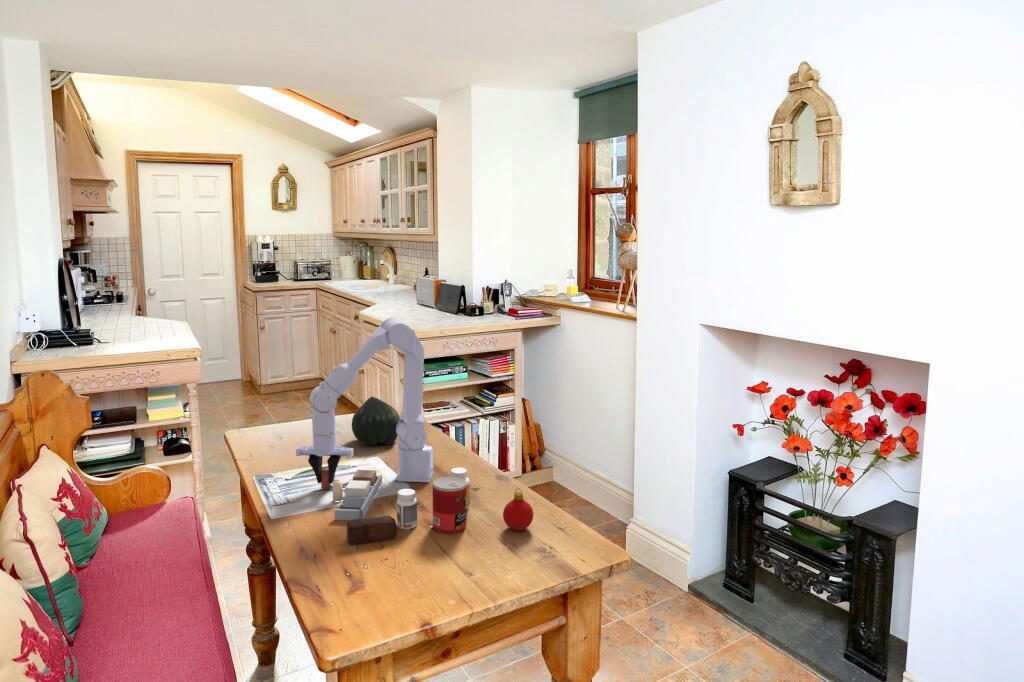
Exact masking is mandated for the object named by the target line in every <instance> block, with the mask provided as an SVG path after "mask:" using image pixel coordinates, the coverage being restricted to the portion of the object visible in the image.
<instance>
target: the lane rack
mask: <svg viewBox="0 0 1024 682" xmlns="http://www.w3.org/2000/svg"><path fill="white" fill-rule="evenodd" d="M381 484H382V485H383V475H376V482H375V484H374V486H370V493H369V494H368V496H367V497H346V496H343V498H342V499H343V501H342V508H334V520H335V521H349V520H354V519H364V518H365V517H366V514H367V513H368V511H369V509H370V507H371V506H372V504H373V502H374V500H375V498H376V497H375V495H376V493H377V491H378V489H379V487H380V486H381ZM381 487H382V486H381ZM381 487H380V488H381ZM379 490H380V489H379ZM378 492H379V491H378ZM377 494H378V493H377ZM376 496H377V495H376ZM374 497H375V498H374ZM373 499H374V500H373ZM352 508H353V509H352ZM354 508H358V509H354Z"/></svg>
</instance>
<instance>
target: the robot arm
mask: <svg viewBox="0 0 1024 682" xmlns="http://www.w3.org/2000/svg"><path fill="white" fill-rule="evenodd" d="M390 345H392V346H393V347H395V348H398V350H400V351H401V352H402V353H403V354H404V363H403V364H404V365H403V367H404V368H403V387H402V388H403V392H402V395H403V396H402V411H401V412H400V414H399V416H400V420H399V423H398V425H397V427H396V433H397V435H398V436H397V438H399V442H398V444H397V446H398V447H397V451H398V452H397V453H398V454H397V455H398V456H397V457H398V463H397V464H398V472H397V475H396V477H395V478H394V481H395V480H398V481H397V482H404V483H405V482H407V483H408V482H409V483H410V482H413V483H414V482H415V483H430V482H431V479H432V478H433V477H432V476H433V474H434V448H433V446H431V445H430V446H429V445H426V443H427V440H428V434H427V431H426V429H425V420H424V417H423V413H422V410H423V409H422V407H423V387H424V386H423V385H424V364H425V363H424V361H425V348H424V346H423V344H422V342H421V341H420V338H418V336H417V334H416V332H415V330H414V329H413V328H412V327H411V326H409V325H408V324H406V323H404V322H402V321H400V320H399V319H398V318H393V317H389V318H386V319H385V320H384V321H383V322H382V323H381V325H379V326H377V327H376V328H375V329H374V331H373V332H372V334H371V335H369V337H368V338H367V339H366V340H365V342H364V343H363V344H362V345H361V346H360V347H359V349H358V350H357V351H356V352H355V354H353V356H352V357H351V358H350V359H349V361H348V362H347V363H340V364H338V365H337V366H336V365H334V366H333V368H332V369H331V370H332V372H331V373H330V374H329V375H328V376H327V377H326V378H325V379H324V380H323V381H322V380H321V381H320V382H319V383H318V384H319V385H318V386H315V387H314V388H313V389H312V390H311V392H310V396H308V399H309V401H310V403H311V404H312V407H311V408H312V409H311V413H312V415H311V424H312V426H311V427H312V445H308V446H297V447H296V448H295V455H296V457H301V456H309V458H307V459H308V460H307V461H308V464H309V465H310V467H311V468H312V470H313V473H314V475H315V478H316V481H317V482H316V483H317V484H321V469H323V457H328V459H326V461H327V462H326V463H327V468H329V484H331V485H333V484H332V482H333V481H335V476H336V475H335V474H336V471H337V467H338V465H339V463H340V460H341V458H342V457H347V458H348V459H349V458H350V459H351V458H353V456H354V448H353V447H346V446H340V445H337V442H336V441H337V440H336V439H337V438H336V435H337V434H336V415H335V408H336V406H337V404H338V403H337V402H338V399H339V398H340V397H341V396H342V395H343V394H344V393H345V392H346V391H347V390H348V389H349V388H350V386H351V385H353V383H354V382H356V381H357V372H358V371H359V370H360V369H361V368H362V367H363V366H364V365H366V363H367V362H368V361H370V360H371V359H372V358H373V357H374V355H376V354H377V353H378V352H380V351H384V350H385V351H386V350H390V349H392V347H391V346H390Z"/></svg>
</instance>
